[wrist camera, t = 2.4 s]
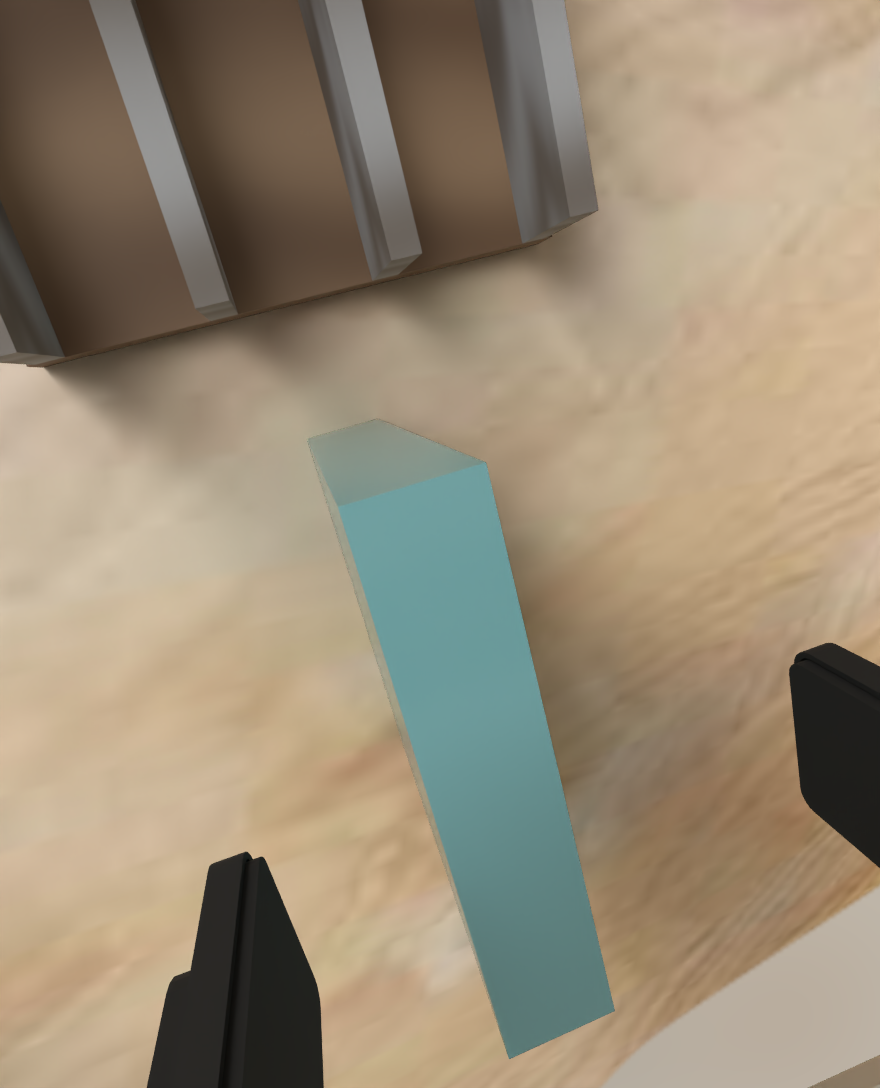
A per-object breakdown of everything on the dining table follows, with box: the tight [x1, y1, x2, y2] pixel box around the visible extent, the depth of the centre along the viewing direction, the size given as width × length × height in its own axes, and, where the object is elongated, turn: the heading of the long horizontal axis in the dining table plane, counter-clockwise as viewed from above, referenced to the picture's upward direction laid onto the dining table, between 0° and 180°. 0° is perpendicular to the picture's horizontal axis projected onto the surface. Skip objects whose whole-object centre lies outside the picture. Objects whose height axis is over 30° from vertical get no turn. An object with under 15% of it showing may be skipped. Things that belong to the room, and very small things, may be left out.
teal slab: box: [307, 419, 615, 1059], centre depth 17 cm, size 12×2×12 cm, turn 15°
